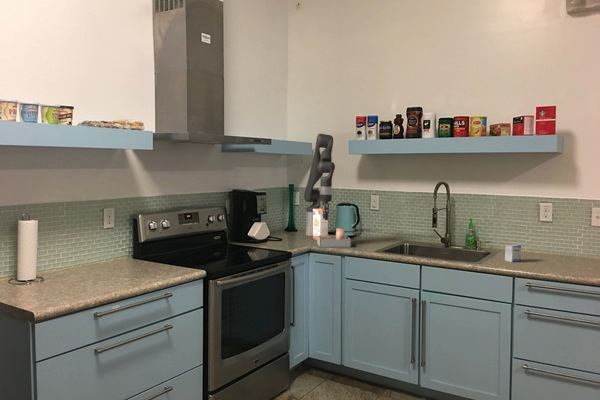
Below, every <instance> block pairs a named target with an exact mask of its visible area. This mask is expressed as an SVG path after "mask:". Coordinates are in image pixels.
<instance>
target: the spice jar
mask: <svg viewBox="0 0 600 400" xmlns="http://www.w3.org/2000/svg"><path fill="white" fill-rule="evenodd" d="M335 231H336V233H335V235H336V239H344V235H345V228H342V227H336V228H335Z"/></svg>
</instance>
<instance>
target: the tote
mask: <svg viewBox="0 0 600 400" xmlns="http://www.w3.org/2000/svg"><path fill="white" fill-rule="evenodd" d="M324 236H330V239H326V240H321V236H317V240H316V243H317V246H318V247H319V248H320V249H324V248H325V249H328V248H329V249H330V248H332V249H334V248H336V249H337V248H338V249H339V248H343V249H345V248H352V239H351V238H350V237H349V236H348V235H345V234H344V239H336V234H335V235H329V234H328V235H324Z"/></svg>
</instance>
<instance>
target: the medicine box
mask: <svg viewBox="0 0 600 400" xmlns="http://www.w3.org/2000/svg"><path fill="white" fill-rule="evenodd" d="M504 249H505V251H504V252H505V253H504V261H505V262H508V263H509V262H510V263H516V262H520V261H521V260H522V245H521V244H517V243H516V244H515V243H514V244H507V245H505V248H504Z"/></svg>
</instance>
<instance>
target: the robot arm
mask: <svg viewBox="0 0 600 400" xmlns="http://www.w3.org/2000/svg"><path fill="white" fill-rule="evenodd" d="M333 145H334V137H333V135H331V134H327V133H326V134H325V133H318V134H317V136H316V141H315V147H314V154H313V158H312V162H311V165H310V169H309V170H310V171H309V176H308V179H307V183H306V187H305V189H304V193H303V200H304V201H305V202H306V203H311V205H309V206H307V207H306V209H305V212H306V213H305V221H306V222H305V223H306V224H305V235H306V236H308V237H313V209H322V212H323V218H324V220H328V221H329V214H330V204H329V202H332V200H333V188H332V187H333V183H332V182H333V176H334V172H335V169H336V165H335V163H334V161H333V159H332V158H333V157H332V154H333V153H332V152H333ZM321 148H322V149H323V150H322V151H321ZM324 174H327V176H323V175H324ZM318 181H320V185H319V187H320V189H319V188H314V187H315V185H316V184H317V182H318ZM321 202H322V203H321ZM320 206H322V207H320Z"/></svg>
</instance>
